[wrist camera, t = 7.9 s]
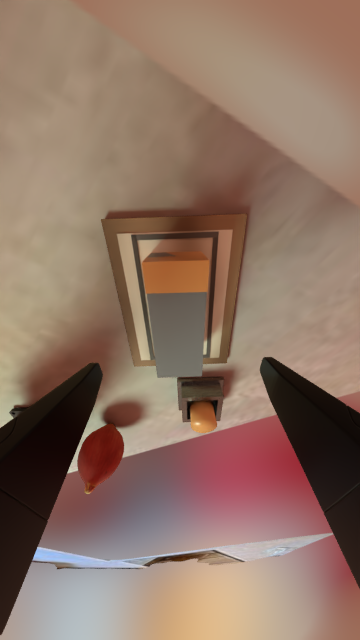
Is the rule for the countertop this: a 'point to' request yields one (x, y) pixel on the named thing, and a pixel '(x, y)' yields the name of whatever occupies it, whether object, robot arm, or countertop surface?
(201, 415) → the button
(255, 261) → the countertop surface
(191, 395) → the button collar
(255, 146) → the countertop surface
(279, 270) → the countertop surface
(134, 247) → the picture frame
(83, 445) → the onion
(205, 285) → the grey orange block
